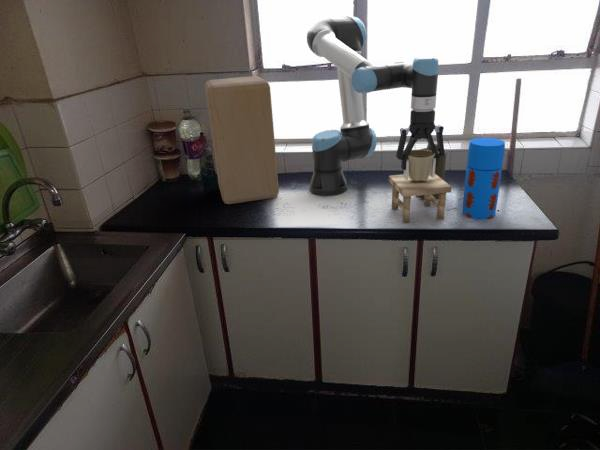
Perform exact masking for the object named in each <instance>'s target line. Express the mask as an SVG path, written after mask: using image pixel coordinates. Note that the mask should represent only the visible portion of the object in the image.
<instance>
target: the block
mask: <svg viewBox="0 0 600 450" xmlns="http://www.w3.org/2000/svg"><path fill="white" fill-rule="evenodd" d="M204 83H205V84H204V92H205V99H206V106H207V113H208V119H209V127H210V133H211V134H210V135H211V139H212V147H213V154H214V160H215V162H214V163H215V168H216V174H217V176H216V177H217V182H218V187H219V191H220V195H221V196H220V197H221V199H222V201H223V203H224V204H227V205H234V204H241V203H247V202H252V201H253V202H254V201H260V200H267V199H268V200H269V199H274V198H277V197H278V196H279V192H280V190H279V179H278V177H279V176H278V166H277V164H278V163H277V155H276V153H277V152H276V141H275V131H274V130H275V129H274V119H273V107H272V106H273V104H272V96H271V95H272V94H271V86H270V84H269V82H268V81H267V80H265V79H263V78H262V77H260V76H256V75H252V76H250V75H249V76H242V77H241V76H240V77H239V76H238V77H228V78H219V79H218V78H217V79H208V80H207V81H205V82H204Z"/></svg>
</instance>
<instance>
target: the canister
mask: <svg viewBox="0 0 600 450" xmlns="http://www.w3.org/2000/svg"><path fill="white" fill-rule="evenodd" d="M434 144H435V146H436V149H437V151H438V146H437V143H434ZM419 150H429V151H431V149H430V147H429V144H428V143H427V146H426V147H425V148H424V147H423V148H420V149H419ZM444 153H445V154H444V156H440V158H439V159H438V166H437V167H435V174H436V175H437V176H439V177H440V178H441V179H442V180H444V181H445V174H446V172H445V171H446V165H447V164H446V163H447V154H448V151H447V150H445V149H444ZM431 195H432V196H434V197H435V198H436V199H437V200H438V194H431ZM415 197H416V198H417V199H419V200H421V201H424V195H418V196H415Z"/></svg>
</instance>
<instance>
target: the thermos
mask: <svg viewBox="0 0 600 450" xmlns="http://www.w3.org/2000/svg"><path fill="white" fill-rule="evenodd" d="M505 143H506V142H505V141H504V139H503V140H502V139H499V138H493V137H479V138H478V137H476V138H473V139H471V140H470V141H469V145H468V149H467V150H468V151H467V160H466V170H465V179H464V187H463V188H464V189H463V198H462V199H463V200H462V212H461V213H462V215H463V216H465V217H467V218H470V219H472V220H483V221H484V220H490V219H493V218H494V217H495V215H496V211H497V207H498V206H497V205H498V198H499V194H500V193H499V192H500V185H501V180H502V179H501V178H502V170H503V164H504V159H505V158H504V157H505V152H506V151H505V150H506V144H505Z"/></svg>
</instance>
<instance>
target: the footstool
mask: <svg viewBox="0 0 600 450" xmlns="http://www.w3.org/2000/svg"><path fill="white" fill-rule="evenodd" d="M388 182H389V183H390V184H391V188H392V190H391V210H394V211H397V210H399V209H400V210H401V211H402V220H401V222H402V224H409V223H410V222H411V221H410V220H411V219H410V217H411V203H412V202H411V200H412V199H411V198H412V197H416V196H418V195H424V200H423V206H424V207H431V205H434V206H435V208H436V220H438V221H443V220H445V212H446V211H445V210H446V200H447V199H446V198H447V194H448V193H451V192H452V185H450V184H449V183H447V182H446V181H445V179H444V180H442V179H441V178H440V177H439V176H437V175H436V174H435V177H433V178H432V177H431V176H430V175H429V177H428V179H427V180H424V181H423V180H419V181H415V180H412V179H410V177H409V175H408V180H406V179H405V178H404V173H403V174H391V175H388ZM431 194H438V200H437V199H436V198H435V197H434V196H432V195H431ZM400 195H401V196H402V197H403V199H400Z"/></svg>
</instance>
